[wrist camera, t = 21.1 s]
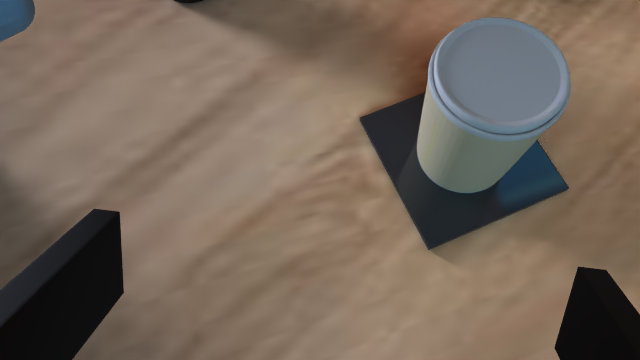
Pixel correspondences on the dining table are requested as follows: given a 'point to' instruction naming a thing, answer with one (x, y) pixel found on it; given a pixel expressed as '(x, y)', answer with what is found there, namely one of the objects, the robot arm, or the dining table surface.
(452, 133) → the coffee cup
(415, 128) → the coaster
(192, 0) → the bottle
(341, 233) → the dining table surface
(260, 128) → the dining table surface
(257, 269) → the dining table surface
